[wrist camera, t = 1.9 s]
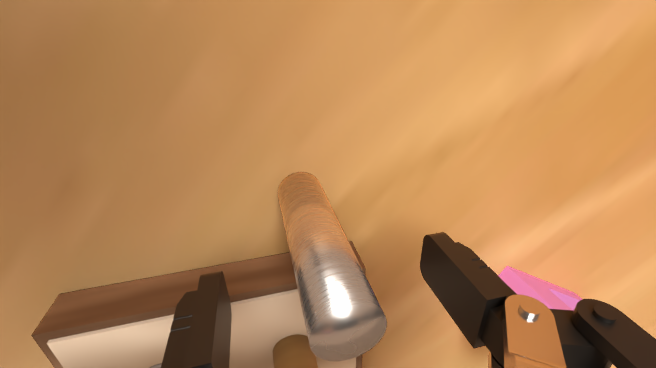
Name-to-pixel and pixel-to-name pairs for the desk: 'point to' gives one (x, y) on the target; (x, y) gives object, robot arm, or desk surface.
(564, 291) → the bracket
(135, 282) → the pin board
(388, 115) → the desk surface
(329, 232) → the grey metal pin
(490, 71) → the desk surface
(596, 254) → the desk surface
